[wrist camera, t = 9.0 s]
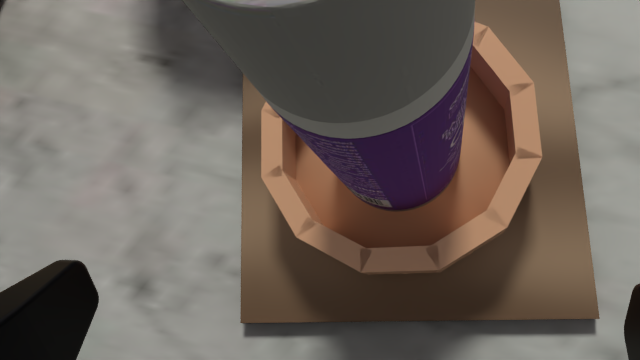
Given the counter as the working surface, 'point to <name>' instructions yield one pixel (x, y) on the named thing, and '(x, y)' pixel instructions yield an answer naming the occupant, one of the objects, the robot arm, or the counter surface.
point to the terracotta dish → (440, 214)
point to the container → (360, 84)
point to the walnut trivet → (471, 271)
